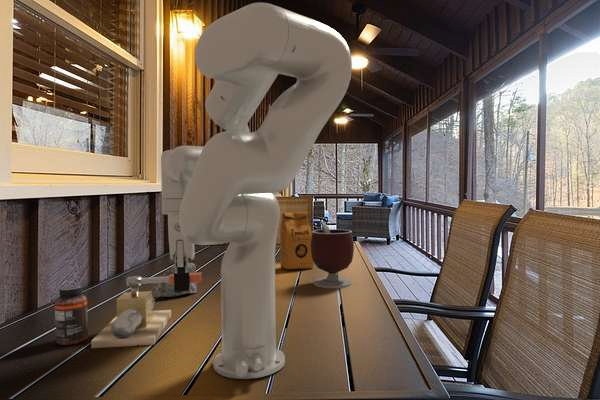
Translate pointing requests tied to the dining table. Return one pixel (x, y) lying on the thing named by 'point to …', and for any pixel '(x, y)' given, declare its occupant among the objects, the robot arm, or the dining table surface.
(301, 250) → the coffee package
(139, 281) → the lever
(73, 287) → the supplement bottle
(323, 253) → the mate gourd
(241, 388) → the dining table surface
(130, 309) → the valve body
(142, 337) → the board
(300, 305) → the dining table surface
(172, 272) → the mineral rock
